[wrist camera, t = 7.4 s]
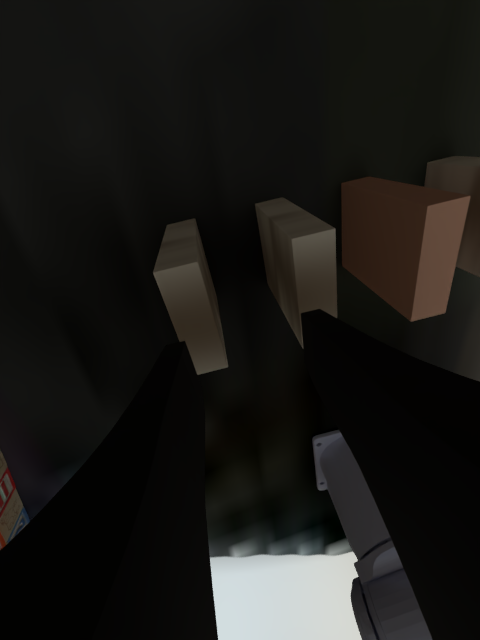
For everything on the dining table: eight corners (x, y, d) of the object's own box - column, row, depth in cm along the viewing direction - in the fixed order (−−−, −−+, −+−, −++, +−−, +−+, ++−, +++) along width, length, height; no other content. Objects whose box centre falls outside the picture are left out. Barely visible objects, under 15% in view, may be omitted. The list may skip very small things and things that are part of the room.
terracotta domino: (365, 259, 19) (445, 313, 13) (342, 265, 19) (411, 321, 13) (368, 176, 16) (470, 195, 10) (341, 183, 16) (427, 205, 10)
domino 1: (216, 296, 19) (228, 367, 13) (192, 302, 19) (193, 375, 13) (195, 218, 16) (197, 261, 10) (167, 224, 16) (152, 272, 10)
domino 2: (291, 278, 19) (337, 340, 13) (267, 283, 19) (302, 348, 13) (282, 197, 16) (335, 228, 10) (254, 204, 16) (291, 239, 10)
